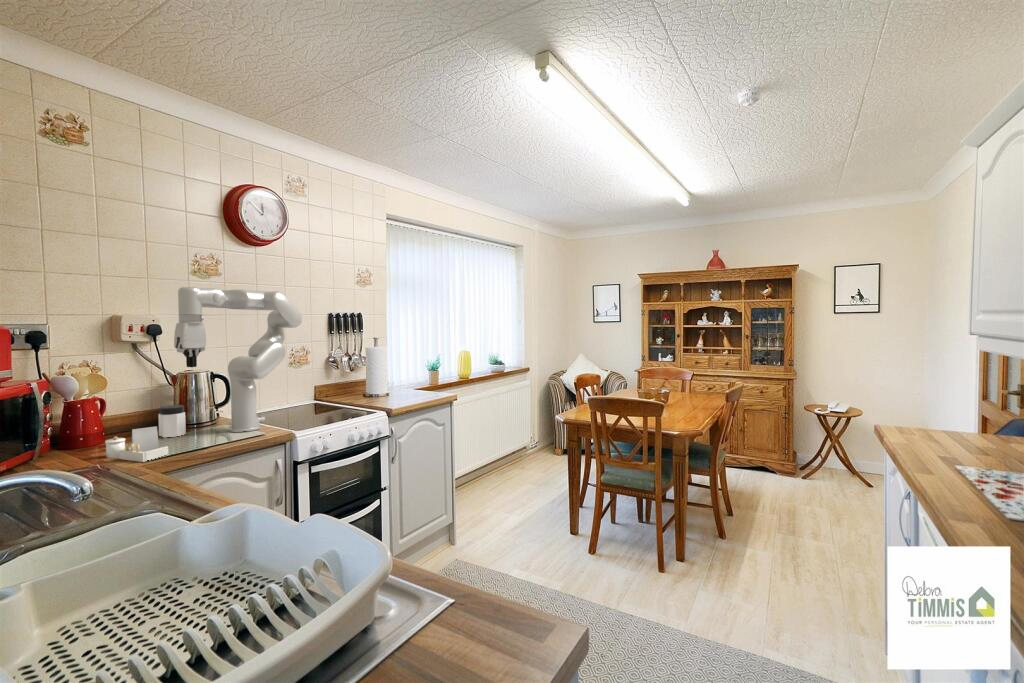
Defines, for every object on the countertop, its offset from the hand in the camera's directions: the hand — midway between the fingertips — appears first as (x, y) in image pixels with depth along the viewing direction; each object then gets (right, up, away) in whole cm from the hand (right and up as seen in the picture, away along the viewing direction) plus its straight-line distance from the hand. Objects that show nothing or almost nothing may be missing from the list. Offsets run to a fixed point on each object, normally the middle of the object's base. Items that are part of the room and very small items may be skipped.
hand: (191, 366), depth 182 cm
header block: (-2, -30, -20) cm, 36 cm away
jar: (-14, -29, +10) cm, 34 cm away
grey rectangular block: (-3, -30, -20) cm, 36 cm away
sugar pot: (-13, -30, -19) cm, 38 cm away
